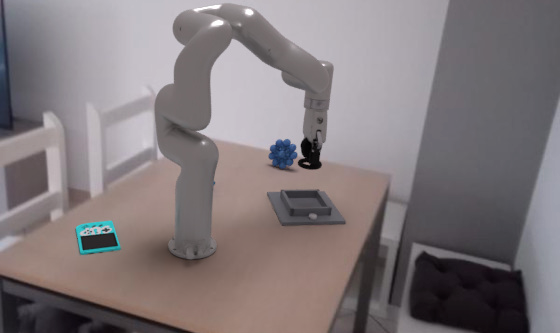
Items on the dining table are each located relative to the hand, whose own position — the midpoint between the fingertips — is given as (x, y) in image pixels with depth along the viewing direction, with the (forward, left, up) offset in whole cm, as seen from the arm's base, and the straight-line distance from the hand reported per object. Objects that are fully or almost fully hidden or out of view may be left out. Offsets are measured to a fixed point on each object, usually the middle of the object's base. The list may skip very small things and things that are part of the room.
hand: (310, 158), depth 166 cm
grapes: (+35, -1, -17) cm, 39 cm away
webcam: (0, 0, -2) cm, 2 cm away
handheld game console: (-15, +62, -18) cm, 66 cm away
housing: (0, 0, -17) cm, 17 cm away
